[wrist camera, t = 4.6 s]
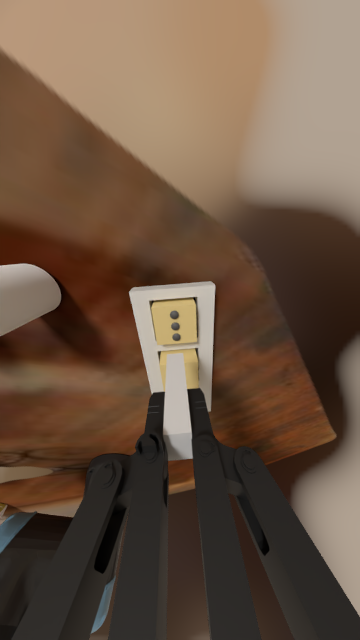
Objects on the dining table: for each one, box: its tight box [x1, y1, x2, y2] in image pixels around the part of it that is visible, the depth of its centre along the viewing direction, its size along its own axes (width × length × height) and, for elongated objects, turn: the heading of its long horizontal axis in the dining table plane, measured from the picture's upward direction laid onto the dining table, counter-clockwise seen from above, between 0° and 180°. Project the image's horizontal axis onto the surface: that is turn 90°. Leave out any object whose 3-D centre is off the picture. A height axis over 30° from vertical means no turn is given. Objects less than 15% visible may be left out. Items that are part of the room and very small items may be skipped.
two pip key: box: [159, 348, 199, 392], centre depth 25 cm, size 6×6×4 cm
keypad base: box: [129, 281, 215, 411], centre depth 28 cm, size 28×12×2 cm, turn 4°
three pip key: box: [151, 297, 198, 345], centre depth 22 cm, size 6×6×4 cm
